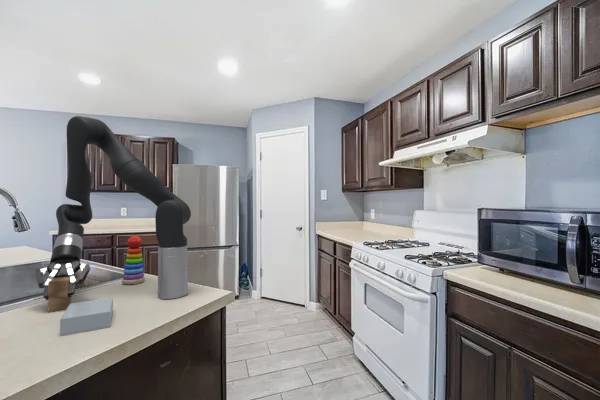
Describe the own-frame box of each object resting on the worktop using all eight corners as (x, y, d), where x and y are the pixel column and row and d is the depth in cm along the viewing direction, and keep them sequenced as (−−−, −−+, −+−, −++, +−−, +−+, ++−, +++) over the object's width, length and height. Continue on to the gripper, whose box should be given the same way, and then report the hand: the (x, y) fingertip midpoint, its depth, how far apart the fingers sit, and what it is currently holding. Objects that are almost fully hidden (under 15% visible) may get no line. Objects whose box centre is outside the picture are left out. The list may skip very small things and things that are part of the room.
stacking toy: (119, 286, 107) (120, 237, 107) (123, 280, 115) (124, 235, 115) (143, 284, 110) (143, 236, 111) (145, 278, 118) (146, 234, 118)
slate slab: (112, 311, 83) (113, 297, 83) (109, 326, 73) (109, 311, 73) (70, 317, 78) (70, 303, 78) (59, 335, 68) (60, 319, 68)
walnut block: (70, 304, 88) (71, 276, 88) (67, 309, 84) (68, 279, 84) (52, 307, 86) (52, 278, 86) (48, 312, 82) (48, 281, 82)
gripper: (36, 245, 88) (22, 294, 77) (93, 242, 95) (87, 287, 85) (41, 258, 92) (28, 307, 82) (94, 255, 100) (89, 299, 89)
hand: (58, 296), depth 83 cm, fingers closed on walnut block, 4 cm apart
